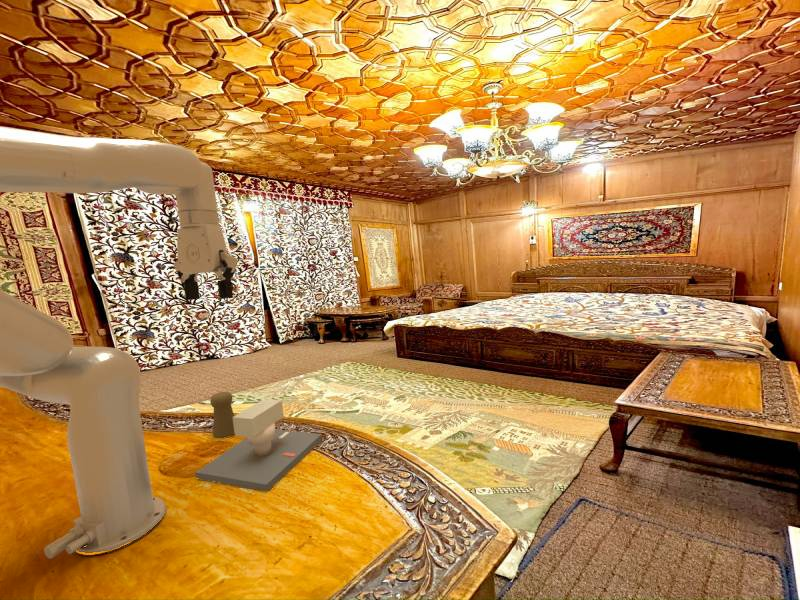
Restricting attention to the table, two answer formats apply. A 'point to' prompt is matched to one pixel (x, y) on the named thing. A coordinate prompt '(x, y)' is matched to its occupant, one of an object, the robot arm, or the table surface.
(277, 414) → the cream rectangular block
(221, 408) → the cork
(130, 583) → the table surface
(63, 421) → the table surface
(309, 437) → the base plate
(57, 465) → the table surface
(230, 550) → the table surface
